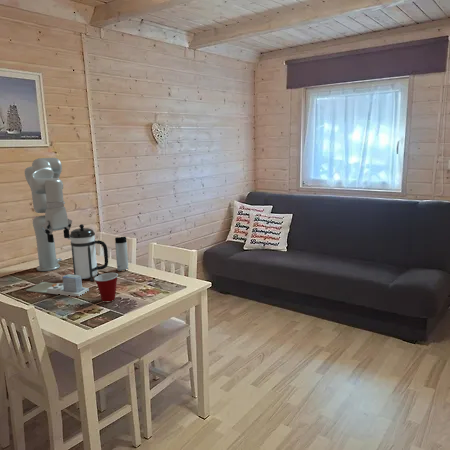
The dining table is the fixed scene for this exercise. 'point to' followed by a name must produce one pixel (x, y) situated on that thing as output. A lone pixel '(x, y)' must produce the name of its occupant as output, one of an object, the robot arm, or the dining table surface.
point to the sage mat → (41, 287)
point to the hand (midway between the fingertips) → (59, 240)
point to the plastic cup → (107, 285)
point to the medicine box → (72, 283)
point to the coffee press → (86, 253)
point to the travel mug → (121, 253)
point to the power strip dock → (59, 289)
